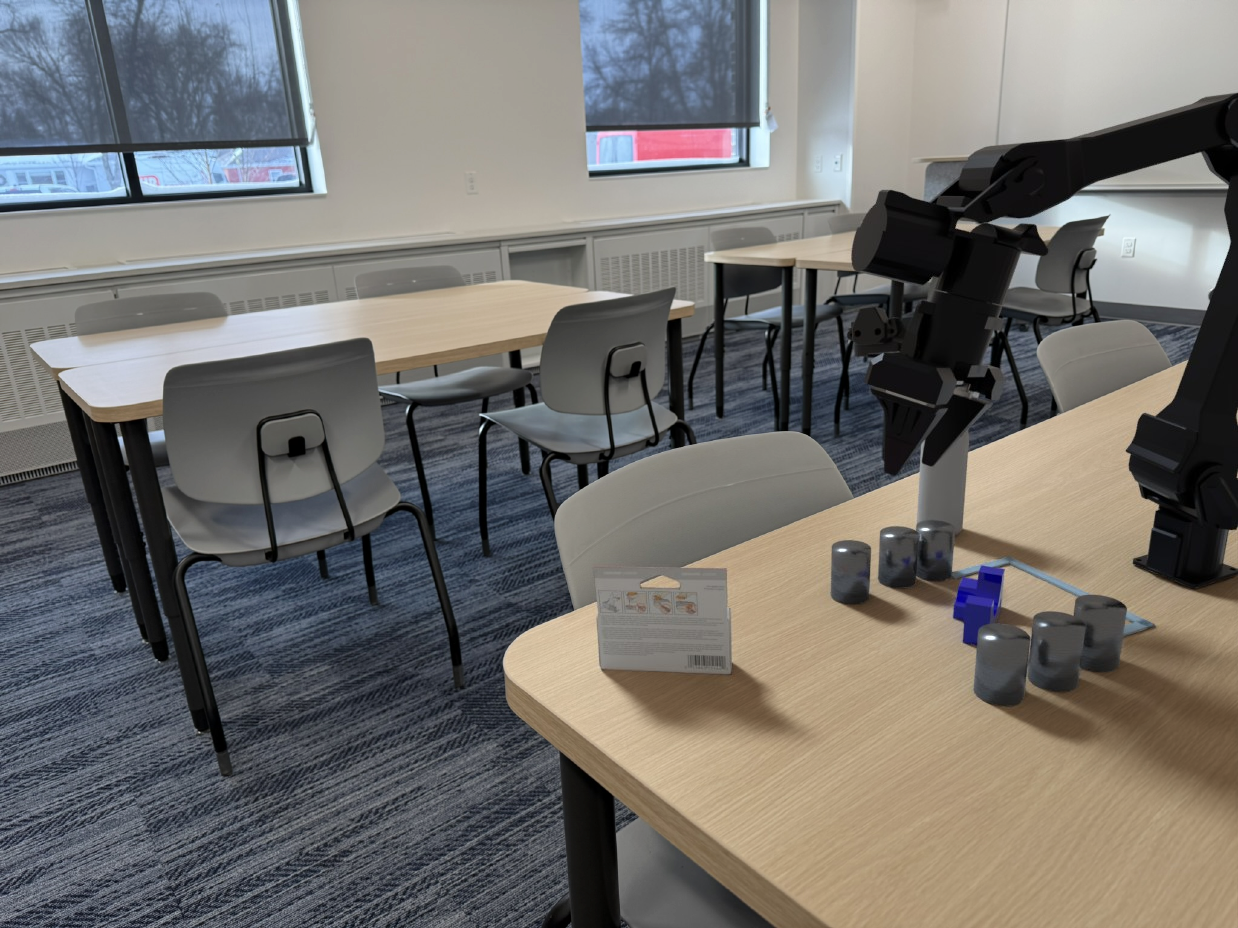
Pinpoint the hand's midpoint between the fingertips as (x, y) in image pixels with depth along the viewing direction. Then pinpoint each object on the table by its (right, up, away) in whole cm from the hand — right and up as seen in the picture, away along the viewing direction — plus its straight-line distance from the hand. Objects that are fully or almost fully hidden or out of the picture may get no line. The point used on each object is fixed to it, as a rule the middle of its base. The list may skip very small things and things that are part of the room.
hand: (909, 469), depth 77 cm
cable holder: (+5, -14, -1) cm, 15 cm away
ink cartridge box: (-22, -17, -5) cm, 28 cm away
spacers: (+4, -14, -1) cm, 14 cm away
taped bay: (+13, -12, +2) cm, 18 cm away
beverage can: (+10, -7, +19) cm, 22 cm away
